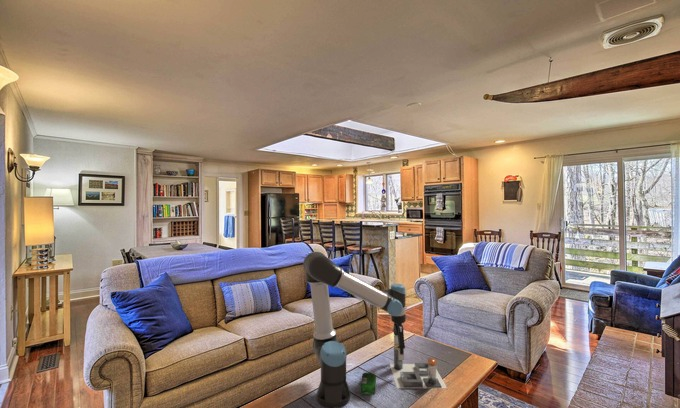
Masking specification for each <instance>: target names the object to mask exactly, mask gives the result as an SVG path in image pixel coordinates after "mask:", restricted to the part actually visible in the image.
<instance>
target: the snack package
mask: <svg viewBox="0 0 680 408" xmlns="http://www.w3.org/2000/svg"><path fill="white" fill-rule="evenodd" d="M360 380H361V381H360V393H361V394H362V395H372V396H375V394H376V387H377V385H376V383H377V382H376V381H377V375H376V374H375V373H374V372H364V373H362V375H361V379H360Z"/></svg>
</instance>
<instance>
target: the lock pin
mask: <svg viewBox="0 0 680 408" xmlns="http://www.w3.org/2000/svg"><path fill="white" fill-rule="evenodd" d="M427 363H428V383H429V384H432V385H435V384H436V369H437V359H436V358H434V357H429V358H427Z"/></svg>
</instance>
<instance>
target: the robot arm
mask: <svg viewBox="0 0 680 408" xmlns="http://www.w3.org/2000/svg"><path fill="white" fill-rule="evenodd" d="M303 269H304V270H305V278H306V282H307V284H309V286H310V292H311V293H310V294H311V295H310V296H311V302H312V311H313V317H314V318H313V319H314V327H315V328H314V329H315V330H314V332H313V334H312V336H313V337H312V338H313V341H312V350H313V352H314V354H315V355H316V359H317V361H318V363H319V365H320V382H319V385H318V388H317V391H316V401H317V402H318V404H319V405H321V406H322V407H325V408H342V407H344V406H346V405H347V404H348V403H349V402H350V400H351V391H350V388H349V384H348V381H347V356H348V355H347V349H346V346H345V345H344V344H343V343H341V342H339V341H338V337H337V336H338V335H337V330H336V329H334V327H333V319H332V318H333V317H332V311H331V309H332V308H331V303H330V292H329V286H330V287H332V288H339V289H340V290H342V291H344V292H347V293H349V294H351V295H352V296H355V298H356V297H357V298H359V299H360V300H362V301H365V302H366V303H368V304H370V305H371V306H373V307H377V308H379V309H380V310H382V311H383V312H385V313H388V315H391V318H390V319H391V322H393V327H392V328H393V330H392V332H393V345H394V344H399V346H398V352H399V360H403V361H404V360H405V349H406V345H405V335H404V325H403V324H404V323H406V321H407V319H406V317H407V315H406V310H407V307H406V287H405V285H403V284H401V283H394V284H391V285H390V288H389V289H380V290H379V288H376V287H374V286H372V285H370V284H368V283H366V282H365V281H363V280H360V279H359V278H357V277H355V276H354V275H351V274H349V273H348V272H346V271H344V268H343V267H341V266H339V265H337V264H336V263H335V262H333V261H332V260H331V259H330V258H329V257H327V256H326V255H325V253H322V252H320V251H312V252H310V253H308V254H307V255H306V256H305V257H304V259H303Z"/></svg>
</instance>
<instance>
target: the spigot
mask: <svg viewBox="0 0 680 408" xmlns="http://www.w3.org/2000/svg"><path fill="white" fill-rule="evenodd" d="M398 346H399V344H394V343H393V364H394V369H396V370H402V369H403V364H404V363H403V362H404V360H399V352H398Z"/></svg>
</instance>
